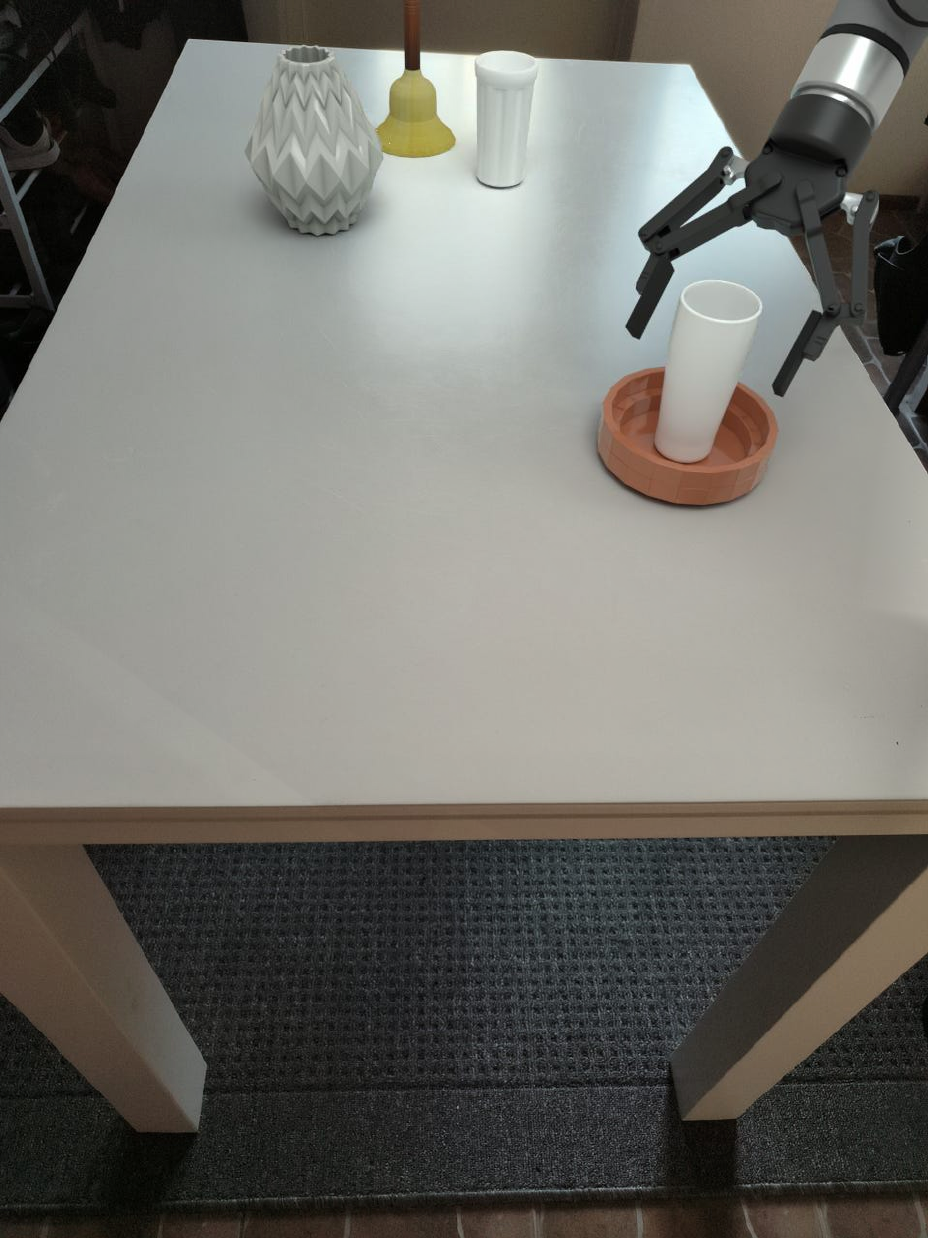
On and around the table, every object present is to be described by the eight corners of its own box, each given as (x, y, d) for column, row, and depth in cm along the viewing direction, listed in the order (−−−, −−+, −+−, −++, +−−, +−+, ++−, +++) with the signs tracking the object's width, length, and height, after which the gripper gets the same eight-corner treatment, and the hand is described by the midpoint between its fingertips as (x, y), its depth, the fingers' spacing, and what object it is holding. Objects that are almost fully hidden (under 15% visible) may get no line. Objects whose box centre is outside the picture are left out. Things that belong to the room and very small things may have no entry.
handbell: (353, 135, 129) (340, -80, 110) (420, 115, 134) (418, -93, 115) (405, 164, 123) (401, -57, 104) (473, 142, 128) (481, -72, 109)
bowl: (775, 429, 87) (790, 390, 83) (747, 531, 77) (761, 491, 74) (621, 389, 90) (628, 350, 87) (575, 482, 80) (582, 443, 77)
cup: (506, 198, 117) (514, 77, 106) (458, 180, 120) (461, 61, 109) (541, 178, 121) (552, 60, 111) (493, 161, 124) (499, 45, 114)
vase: (228, 225, 110) (199, 56, 96) (317, 180, 119) (302, 20, 105) (327, 266, 104) (312, 93, 90) (413, 216, 113) (411, 51, 99)
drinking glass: (701, 480, 80) (747, 331, 69) (633, 454, 82) (666, 305, 71) (728, 441, 84) (775, 294, 72) (662, 416, 86) (698, 269, 75)
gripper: (981, 184, 70) (844, 429, 74) (698, 104, 80) (588, 325, 83) (994, 133, 64) (843, 405, 67) (684, 52, 73) (564, 295, 76)
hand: (702, 361), depth 75 cm, fingers open, 13 cm apart
